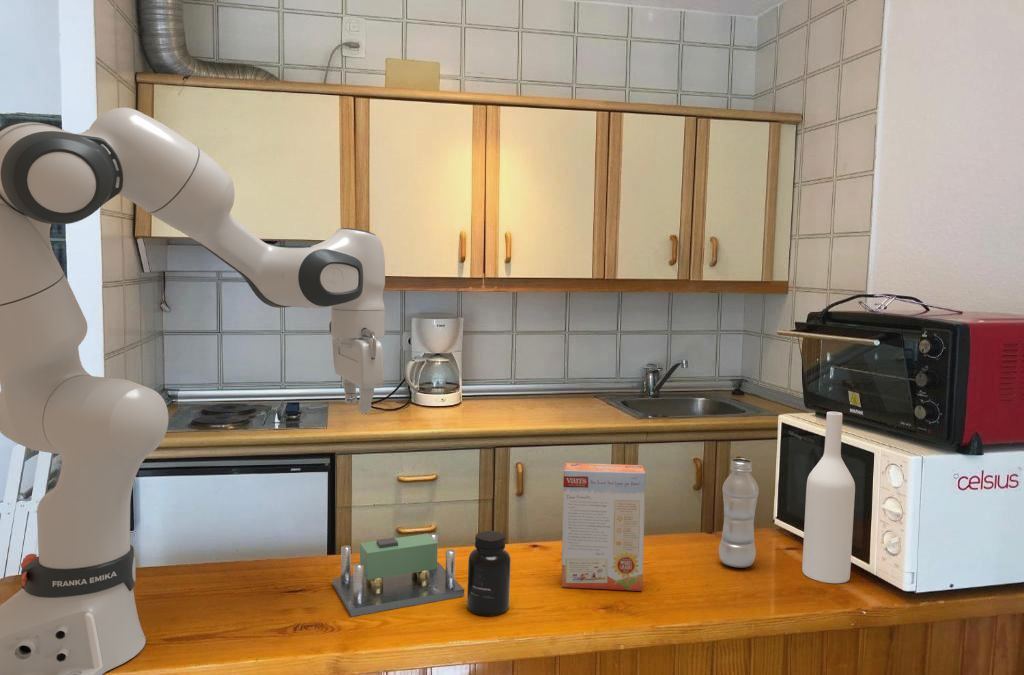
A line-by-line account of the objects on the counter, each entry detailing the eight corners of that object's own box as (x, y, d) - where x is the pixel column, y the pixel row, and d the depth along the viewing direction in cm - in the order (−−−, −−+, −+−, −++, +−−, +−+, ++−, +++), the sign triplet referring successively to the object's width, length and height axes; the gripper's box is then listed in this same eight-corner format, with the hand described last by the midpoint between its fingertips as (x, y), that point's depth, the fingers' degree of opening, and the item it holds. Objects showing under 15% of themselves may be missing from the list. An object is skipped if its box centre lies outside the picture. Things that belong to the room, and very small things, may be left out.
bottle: (855, 585, 133) (865, 418, 130) (807, 582, 134) (816, 415, 131) (843, 568, 141) (852, 409, 138) (797, 564, 142) (805, 407, 139)
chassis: (351, 616, 117) (351, 572, 117) (333, 585, 129) (332, 544, 128) (464, 596, 126) (464, 554, 125) (437, 568, 137) (438, 529, 137)
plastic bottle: (711, 560, 143) (715, 457, 141) (742, 557, 145) (746, 455, 144) (730, 573, 137) (735, 466, 135) (762, 570, 139) (767, 463, 137)
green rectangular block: (427, 558, 132) (427, 530, 132) (437, 568, 127) (437, 539, 127) (359, 569, 127) (359, 539, 126) (367, 580, 122) (367, 549, 122)
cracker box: (640, 578, 134) (644, 463, 132) (642, 593, 128) (646, 472, 126) (561, 574, 135) (564, 460, 134) (560, 588, 129) (563, 469, 128)
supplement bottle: (472, 619, 117) (473, 544, 116) (463, 600, 124) (464, 529, 123) (514, 614, 119) (516, 541, 118) (503, 596, 126) (504, 526, 125)
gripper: (394, 330, 119) (393, 417, 120) (361, 323, 137) (361, 398, 138) (354, 331, 116) (353, 419, 117) (326, 323, 134) (326, 399, 135)
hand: (357, 408), depth 128 cm, fingers open, 8 cm apart
